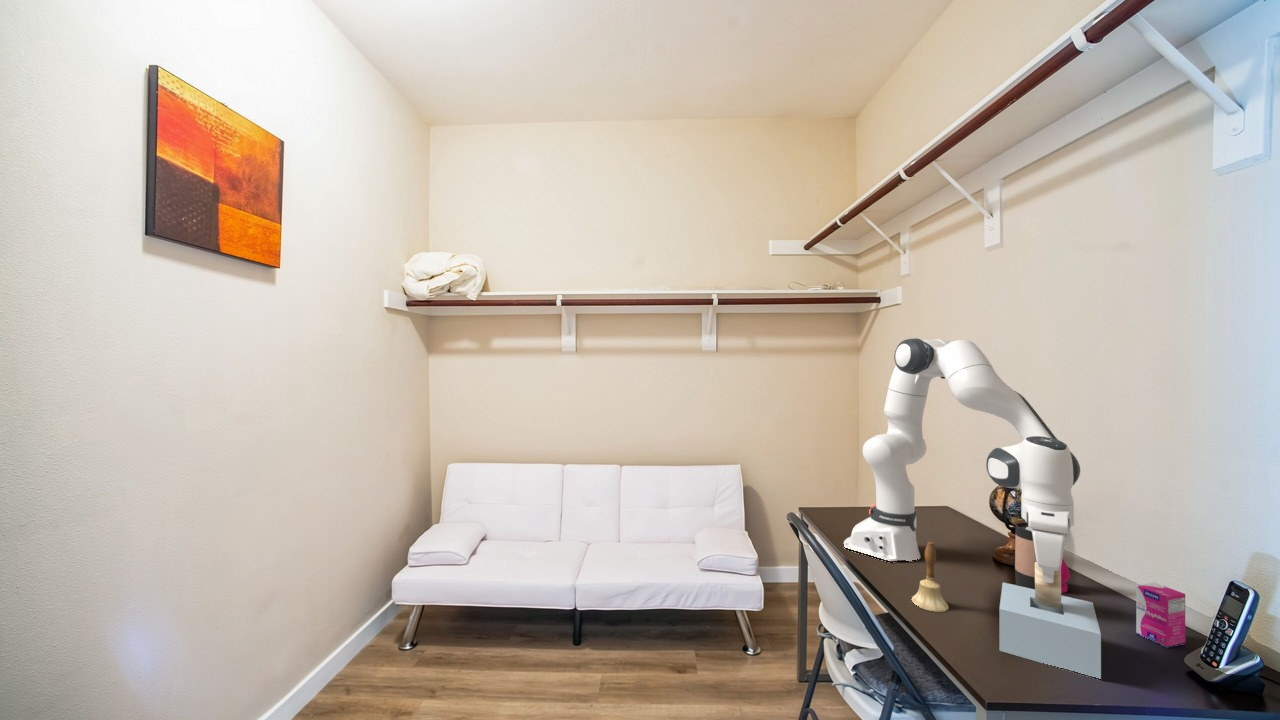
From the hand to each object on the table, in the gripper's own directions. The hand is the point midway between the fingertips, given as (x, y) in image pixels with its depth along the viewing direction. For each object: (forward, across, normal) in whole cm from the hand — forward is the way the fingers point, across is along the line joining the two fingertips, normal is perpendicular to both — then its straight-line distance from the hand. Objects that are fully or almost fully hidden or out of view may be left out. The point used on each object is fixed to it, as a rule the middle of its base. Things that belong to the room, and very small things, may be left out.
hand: (1047, 576), depth 107 cm
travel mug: (+15, -21, -2) cm, 26 cm away
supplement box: (+16, -19, +20) cm, 32 cm away
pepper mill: (+15, -37, +2) cm, 40 cm away
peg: (+6, 0, 0) cm, 6 cm away
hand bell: (+15, -6, -23) cm, 29 cm away
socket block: (+15, 0, 0) cm, 15 cm away
